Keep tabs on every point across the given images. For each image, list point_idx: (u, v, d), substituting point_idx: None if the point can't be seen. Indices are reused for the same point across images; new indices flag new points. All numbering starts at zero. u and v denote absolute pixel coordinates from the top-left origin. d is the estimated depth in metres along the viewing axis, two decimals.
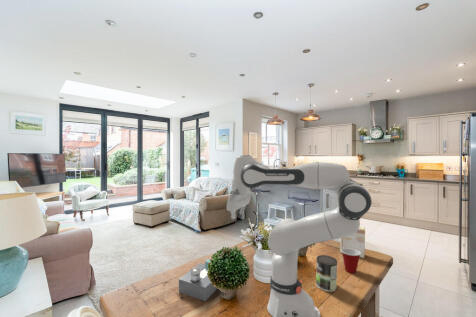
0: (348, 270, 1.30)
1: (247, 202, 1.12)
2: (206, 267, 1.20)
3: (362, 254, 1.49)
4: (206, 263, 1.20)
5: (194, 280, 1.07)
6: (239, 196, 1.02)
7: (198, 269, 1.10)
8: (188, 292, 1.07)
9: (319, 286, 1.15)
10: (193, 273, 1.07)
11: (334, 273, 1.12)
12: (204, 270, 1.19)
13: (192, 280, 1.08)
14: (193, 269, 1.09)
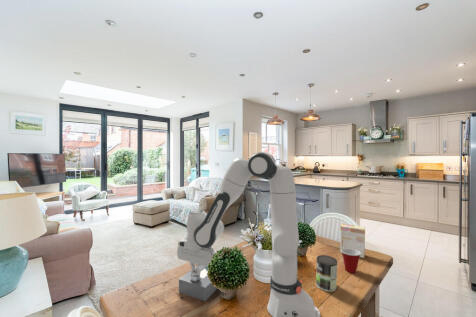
0: (348, 270, 1.30)
1: None
2: (206, 267, 1.20)
3: (362, 254, 1.49)
4: None
5: (194, 281, 1.07)
6: None
7: None
8: (188, 292, 1.07)
9: (319, 286, 1.15)
10: (193, 274, 1.07)
11: (334, 273, 1.12)
12: (204, 270, 1.19)
13: (192, 281, 1.08)
14: None
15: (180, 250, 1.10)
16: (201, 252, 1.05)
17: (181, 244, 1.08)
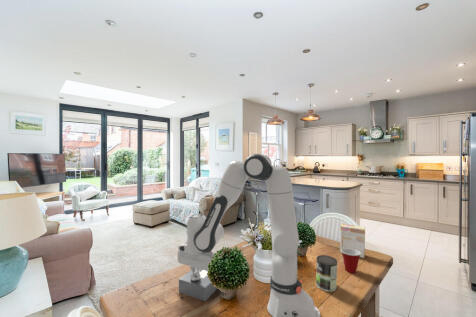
0: (348, 270, 1.30)
1: None
2: None
3: (362, 254, 1.49)
4: None
5: None
6: None
7: None
8: (188, 292, 1.07)
9: (319, 286, 1.15)
10: (193, 279, 1.07)
11: (334, 273, 1.12)
12: (204, 270, 1.19)
13: None
14: None
15: (180, 254, 1.10)
16: (201, 256, 1.05)
17: (181, 248, 1.08)
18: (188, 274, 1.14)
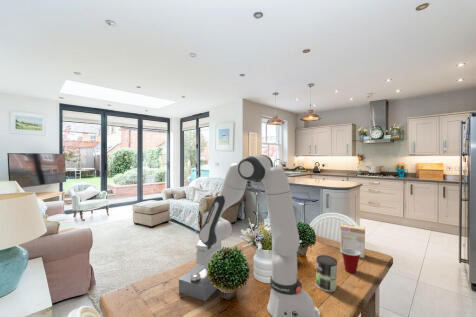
0: (348, 270, 1.30)
1: None
2: None
3: (362, 254, 1.49)
4: None
5: None
6: None
7: (198, 274, 1.10)
8: (188, 292, 1.07)
9: (319, 286, 1.15)
10: (193, 279, 1.07)
11: (334, 273, 1.12)
12: (204, 270, 1.19)
13: None
14: (193, 274, 1.10)
15: (205, 255, 1.13)
16: None
17: (208, 247, 1.14)
18: (188, 274, 1.14)
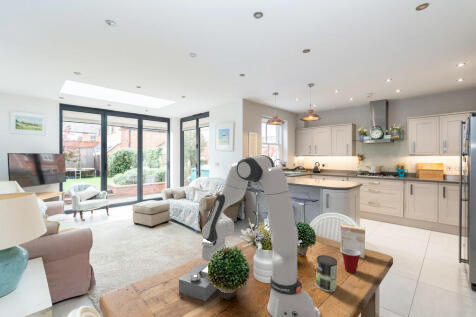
0: (348, 270, 1.30)
1: None
2: None
3: (362, 254, 1.49)
4: None
5: None
6: None
7: (198, 274, 1.10)
8: (188, 292, 1.07)
9: (319, 286, 1.15)
10: (193, 279, 1.07)
11: (334, 273, 1.12)
12: None
13: None
14: (193, 274, 1.10)
15: (210, 251, 1.17)
16: None
17: (214, 243, 1.18)
18: (188, 274, 1.14)
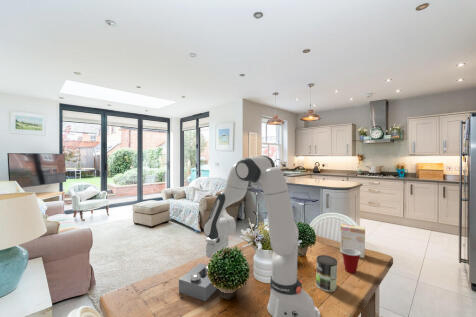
0: (348, 270, 1.30)
1: None
2: None
3: (362, 254, 1.49)
4: None
5: None
6: None
7: (198, 274, 1.10)
8: (188, 292, 1.07)
9: (319, 286, 1.15)
10: (193, 279, 1.07)
11: (334, 273, 1.12)
12: None
13: None
14: (193, 274, 1.10)
15: (214, 248, 1.21)
16: None
17: (217, 241, 1.22)
18: (188, 274, 1.14)
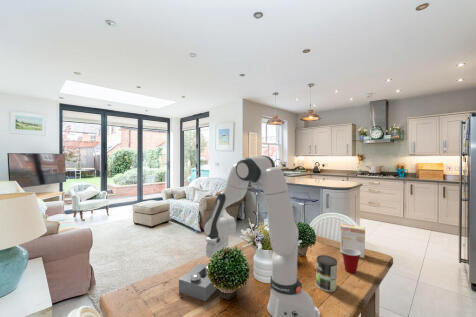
0: (348, 270, 1.30)
1: None
2: None
3: (362, 254, 1.49)
4: None
5: None
6: None
7: (198, 274, 1.10)
8: (188, 292, 1.07)
9: (319, 286, 1.15)
10: (193, 279, 1.07)
11: (334, 273, 1.12)
12: None
13: None
14: (193, 274, 1.10)
15: (214, 248, 1.21)
16: None
17: (217, 241, 1.22)
18: (188, 274, 1.14)
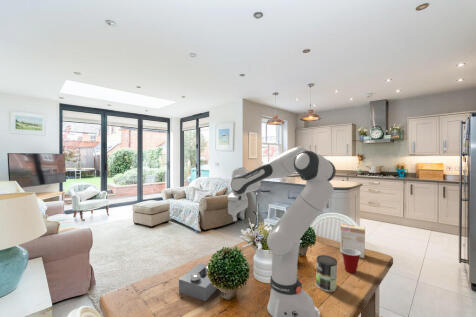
0: (348, 270, 1.30)
1: None
2: None
3: (362, 254, 1.49)
4: None
5: None
6: None
7: (198, 274, 1.10)
8: (188, 292, 1.07)
9: (319, 286, 1.15)
10: (193, 279, 1.07)
11: (334, 273, 1.12)
12: None
13: None
14: (193, 274, 1.10)
15: (236, 205, 1.22)
16: (244, 198, 1.33)
17: (239, 198, 1.22)
18: (188, 274, 1.14)
